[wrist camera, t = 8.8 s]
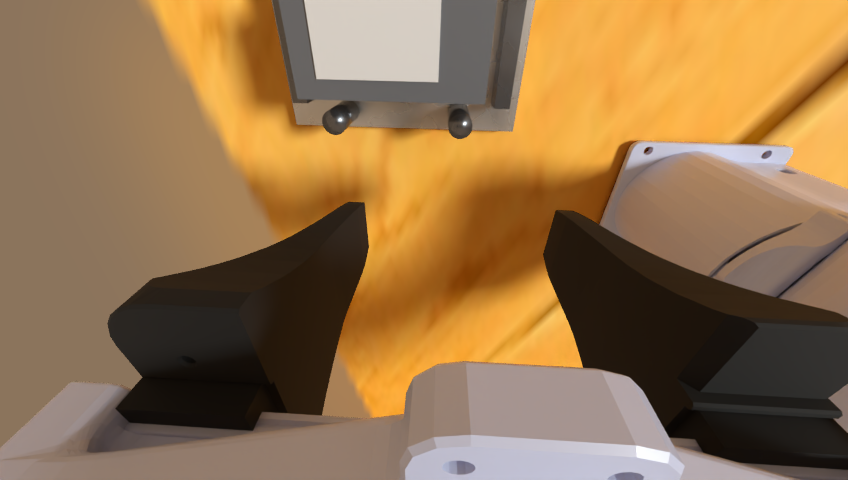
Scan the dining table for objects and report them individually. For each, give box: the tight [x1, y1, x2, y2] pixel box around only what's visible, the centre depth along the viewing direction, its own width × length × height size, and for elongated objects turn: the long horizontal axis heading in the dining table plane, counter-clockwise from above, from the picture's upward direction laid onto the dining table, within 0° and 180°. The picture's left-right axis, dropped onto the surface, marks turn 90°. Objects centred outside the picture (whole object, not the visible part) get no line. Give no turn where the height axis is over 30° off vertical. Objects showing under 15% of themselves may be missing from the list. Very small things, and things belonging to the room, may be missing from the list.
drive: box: [278, 0, 497, 104], centre depth 14 cm, size 8×4×5 cm, turn 89°
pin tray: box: [272, 0, 535, 139], centre depth 15 cm, size 13×9×4 cm
